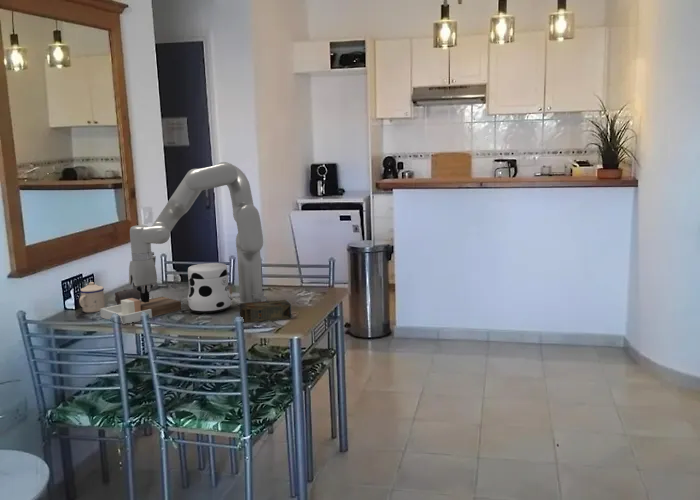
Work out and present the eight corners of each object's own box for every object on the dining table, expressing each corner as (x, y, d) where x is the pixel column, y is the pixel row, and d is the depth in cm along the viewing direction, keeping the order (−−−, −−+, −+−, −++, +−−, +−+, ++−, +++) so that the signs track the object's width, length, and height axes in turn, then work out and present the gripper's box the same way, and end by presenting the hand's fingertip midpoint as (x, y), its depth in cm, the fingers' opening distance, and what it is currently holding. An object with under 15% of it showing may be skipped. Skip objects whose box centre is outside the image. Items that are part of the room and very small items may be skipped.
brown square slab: (181, 309, 267) (180, 301, 266) (150, 317, 257) (149, 308, 256) (162, 304, 276) (162, 296, 276) (132, 311, 266) (131, 303, 266)
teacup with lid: (92, 306, 276) (89, 279, 274) (110, 307, 273) (107, 280, 272) (72, 314, 265) (69, 285, 263) (90, 315, 262) (87, 286, 260)
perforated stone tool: (136, 300, 286) (135, 284, 285) (146, 301, 284) (144, 285, 283) (111, 308, 272) (110, 292, 271) (121, 309, 270) (119, 293, 269)
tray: (152, 318, 255) (151, 309, 255) (123, 325, 247) (122, 315, 246) (128, 311, 267) (128, 302, 267) (100, 317, 259) (99, 308, 258)
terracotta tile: (139, 300, 257) (134, 301, 256) (141, 314, 258) (135, 316, 256) (132, 297, 261) (126, 299, 260) (133, 312, 262) (127, 313, 261)
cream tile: (134, 301, 255) (128, 302, 254) (135, 316, 256) (129, 317, 255) (126, 299, 260) (120, 300, 258) (127, 313, 261) (121, 315, 259)
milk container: (240, 308, 267) (238, 264, 265) (209, 318, 253) (206, 272, 250) (210, 303, 277) (208, 261, 274) (179, 312, 263) (175, 268, 260)
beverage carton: (292, 319, 249) (291, 302, 248) (241, 324, 244) (240, 307, 243) (288, 314, 256) (288, 297, 255) (239, 318, 252) (238, 302, 251)
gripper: (153, 253, 267) (157, 297, 270) (119, 258, 257) (123, 304, 260) (163, 255, 262) (166, 299, 265) (129, 260, 252) (132, 307, 255)
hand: (145, 301), depth 262 cm, fingers closed
